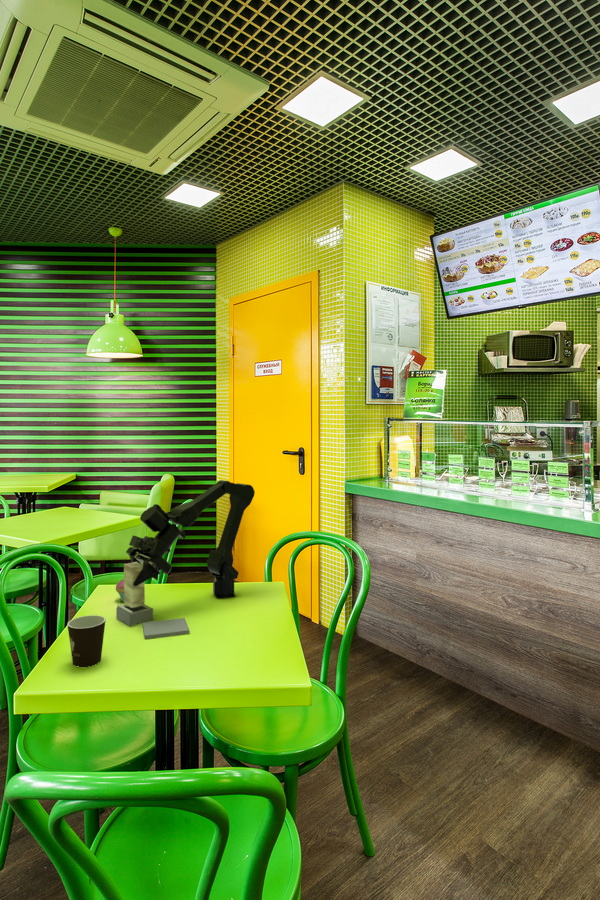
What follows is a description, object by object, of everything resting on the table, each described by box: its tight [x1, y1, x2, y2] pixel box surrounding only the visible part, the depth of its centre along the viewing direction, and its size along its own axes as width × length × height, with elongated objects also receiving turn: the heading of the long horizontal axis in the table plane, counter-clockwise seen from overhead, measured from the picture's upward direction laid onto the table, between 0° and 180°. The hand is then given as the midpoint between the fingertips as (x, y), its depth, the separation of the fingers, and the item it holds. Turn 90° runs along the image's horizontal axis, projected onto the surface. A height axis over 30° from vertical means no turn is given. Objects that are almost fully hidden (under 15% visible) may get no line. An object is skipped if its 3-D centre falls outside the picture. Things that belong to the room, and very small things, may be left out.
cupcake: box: [115, 579, 124, 603], centre depth 172 cm, size 9×8×12 cm
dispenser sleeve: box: [115, 603, 154, 627], centre depth 155 cm, size 7×8×4 cm
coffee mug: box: [67, 614, 106, 668], centre depth 128 cm, size 12×9×10 cm
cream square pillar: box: [123, 562, 146, 608], centre depth 155 cm, size 4×5×12 cm
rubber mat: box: [142, 617, 190, 640], centre depth 148 cm, size 12×10×1 cm
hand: (129, 583), depth 154 cm, fingers closed on cream square pillar, 5 cm apart
